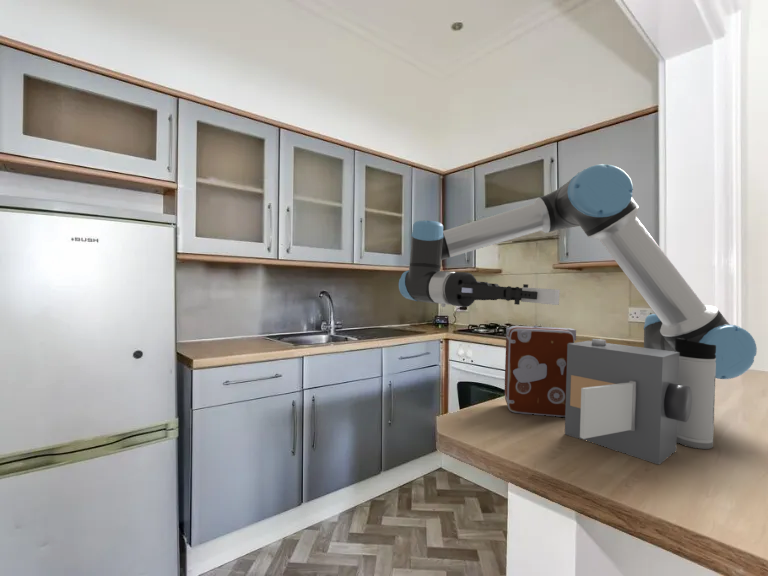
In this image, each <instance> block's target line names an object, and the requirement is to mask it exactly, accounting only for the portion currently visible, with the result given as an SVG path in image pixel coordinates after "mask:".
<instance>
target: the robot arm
mask: <svg viewBox="0 0 768 576" xmlns="http://www.w3.org/2000/svg"><path fill="white" fill-rule="evenodd" d="M633 190H634V186H633V182H632V179H631V177H630V176H629V174H627V173H626V171H625V170H623V169H621V168H620V167H618V166H615V165H613V164H606V163H605V164H603V163H601V164H595V165H592V166H589V167H587V168H584V169H583V170H581V171H580V172H578V173H577V174H576V175H574V176H573V177H572V178H571V179H569V180H568V181H567V182H566V183H564V184H563V185H562V186H561V187H559V188H557V189H556V190H554V191H552V192H550V193H547V194H545V195H542V196H540V197H537V198H536V199H535V200H534V202H532V203H530V204H526V205H523V206H520V207H517V208H514V209H509V210H507V211H504V212H500V213H497V214H495V215H494V214H493V215H491V216H488V217H487V216H486V217H483V218H480V219H477V220H474V221H471V222H467V223H464V224H462V225H457V226H455V227H451V228H449V229H445V230H444V225H443V224H442V223H441V222H440V221H435V220H417V221H414V222H413V225H412V231H411V240H410V242H411V243H410V244H411V245H410V262H409V266H408V270H406V271H404V272H403V273H402V274H401V276H400V278H399V281H398V290H399V293H400V294H401V296H402V297H403V298H405V299H407V300H411V301H415V302H420V303H421V302H422V303H431V304H441V305H440V306H441V307H442V308H445V307H446V305H450V306H454V307H455V306H456V307H462V308H466V307H470V306H472V305H473V304H474V303H475V301H497V300H503V301H504V300H505V301H507V302H509V301H514V305H516V306H517V305H520V303H521V302H523V303H532V304H542V305H552V306H560V305H559V304H560V294H561V293H560V292H561V291H560V289H554V288H553V289H552V288H540V287H529V284H523V285H522V287H519V286H515V287H512V286H509V285H508V286H501V285H499V284H498V283H490V282H487V281H477V278H476V277H475V276H474V275H473V274H472V273H471V272H461V271H443V270H441V268H442V267H441V264H442V263H441V262H442V261H443V260H446V259H448V258H452V257H455V256H460V255H462V254H466V253H469V252H473V251H476V250H479V249H483V248H486V247H489V246H492V245H493V246H494V245H497V244H500V243H504V242H507V241H510V240H513V239H517V238H520V237H524V236H528V235H531V234H534V233H537V232H542V233H545V234H547V233H548V234H549V233H550V232H554V231H558V230H559V231H560V230H563V229H570V228H576V227H580V229H582V231H583V232H584V234H586V236H587V238H589V239H596V240H599V241H600V242H601V243H602V245H603V246H604V249H606V250H607V252H608V253H609V254H610V256H611V257H612V258H613V260H614V262H616V263H617V265H618V266H619V268H620V269H621V270H622V271H623V273H624V274H625V275H626V277H627V278H628V279H629V280H630V282H631V283H632V285H633V286H634V288H635V289H636V291H638V293H639V294H640V295H641V296H642V298H643V299H644V301H645V302H646V303H647V304H648V306H649V308H650V309H651V310H652V311H653V313H652V314H649V315H647V316H646V317H645V320H644V326H643V348H650V349H658V350H666V351H674V352H675V350H676V349H675V338H681V339H687V341H694V342H700V343H704V344H710V345H716V353H715V355H716V361H715V362H716V375H715V379H717V380H730V379H735V378H738V377H740V376H742V375H743V374H745V373H746V372H748V371H749V369H750V368H751V367H752V366H753V364H754V363H755V356H757V352H758V351H757V350H758V349H757V344H756V343H757V342H756V341H755V338H754V337H753V335H752V334H751V333H750V332H749V331H748V330H746V329H744V328H743V327H740V326H739V325H735V324H730V323H729V322H728V320H727V319H726V318H725V317H724V315H723V314H722V312H721V311H720V310H719V309H718V308H717V306H715V305H709V304H704V303H703V302H702V300H701V299H700V298H699V297H698V296H697V294H696V293H695V291H694V290H693V289H692V288H691V286H690V284H688V282H687V281H686V279H685V278H684V277H683V276H682V275H681V273H680V272H679V270H678V269H677V268H676V267H675V265H674V264H673V262H672V261H671V260H670V258H669V257H668V256H667V255H666V254H665V252H664V250H662V248H661V246H659V244H658V243H657V242H656V240H655V239H654V238H653V237H652V235H651V234H650V233H649V232H648V230H647V228H646V227H645V226H644V225H643V223H642V222H641V221H640V220H639V218H638V217H637V216H638V215H637V214H638V210H639V205H638V203H637V202H636V201H635V200H634V198H633Z"/></svg>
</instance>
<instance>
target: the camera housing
mask: <svg viewBox="0 0 768 576" xmlns="http://www.w3.org/2000/svg"><path fill="white" fill-rule="evenodd" d="M679 356H680V352H674V351H666V350H658V349H650V348H644V347H643V346H642V347H641V346H634V345H624V344H617V343H612V342H611V343H610V342H609V343H608V342H607V340H606V339H600V338H592V339H591V340H584V341H577V342H574V343H570V344H568V345H567V377H566V409H565V417H564V435H566V436H570V437H573V438H575V439H578V438H579V440H581V439H583V438H580V416H581V388H586V387H594V386H603V385H611V384H620V383H629V381H635V382H636V404H635V431H630V430H628V431H622V432H617V433H612V434H607V435H601V436H596V437H591V438H586V439H583V440H582V441H584V440H587V441H590V442H589V443H591V442H593V443H592V444H594V443H596V444H595V445H597V444H598V446H600V445H601V447H603V446H604V447H603V448H606V447H607V448H606V449H610V450H613V451H616V452H618V451H619V453H621V452H622V454H625V453H626V454H625V455H628V456H631V457H634V458H636V459H640V460H642V461H643V460H644V461H647V462H650V463H653V464H656V465H661V464H662V463H664V462H665V461H666V460H667V459H668V458H669V456H670V455H671V454H672V453H673V454H675V453H676V452H677V420H678V421H683V422H687V421H688V419H689V416H690V413H691V408H692V391H691V388H690V387H689V386H684V385H679ZM587 441H586V442H587ZM675 451H676V452H675ZM674 452H675V453H674ZM673 454H672V455H673ZM672 455H671V456H672ZM671 456H670V457H671ZM667 457H668V458H667ZM666 458H667V459H666ZM665 459H666V460H665Z"/></svg>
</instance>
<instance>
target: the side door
mask: <svg viewBox="0 0 768 576" xmlns="http://www.w3.org/2000/svg"><path fill="white" fill-rule="evenodd" d="M635 404H636V382H635V381H629V383H620V384H611V385H603V386H594V387H586V388H581V416H580V438H583V439H586V438H591V437H596V436H601V435H607V434H612V433H617V432H622V431H628V430H630V431H635Z"/></svg>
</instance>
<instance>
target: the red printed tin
mask: <svg viewBox="0 0 768 576" xmlns="http://www.w3.org/2000/svg"><path fill="white" fill-rule="evenodd" d="M505 330H506V336H505V359H504V361H505V363H504V365H505V366H504V400H505V402H506V403H505V404H506V405H507V409H508V410H509V411H510V412H512V413H515V414H522V415H532V414H534V416H535V415H536V416H544V415H546V416H545V417H555V416H556V417H558V418H565V409H566V377H567V345H568V344H570V343H575V341H577V330H576V329H574V328H569V327H554V326H553V327H552V326H538V325H533V326H530V325H529V326H528V325H512V326H509V327H506V329H505Z"/></svg>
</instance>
